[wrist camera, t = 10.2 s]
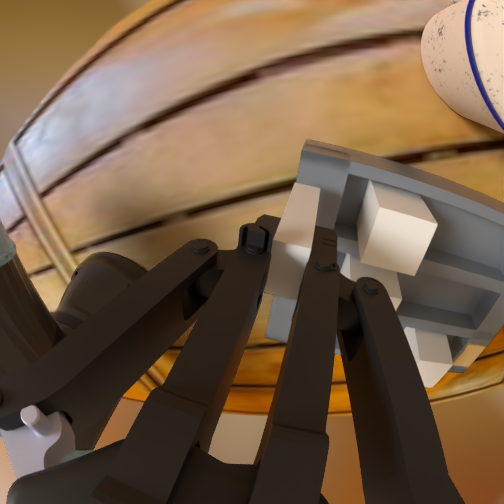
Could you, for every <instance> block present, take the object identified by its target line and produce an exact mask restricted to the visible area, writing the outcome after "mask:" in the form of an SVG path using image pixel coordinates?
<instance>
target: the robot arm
mask: <svg viewBox="0 0 504 504" xmlns="http://www.w3.org/2000/svg"><path fill="white" fill-rule="evenodd" d="M319 195H320V188H317V187H313V186H309V185H304V184H300V183H295V184H294V186H293V189H292V191H291V194H290V197H289V199H288V202H287V205H286V207H285V210H284V213H283V215H282V218H278V217H274V216H269V215H265V214H264V215H262V216H261V217H259V218H258V219H257V220H256V222H255V223H248V224H245V225H243V226H241V227H240V231H239V242H238V247H237V249H235V250H218V246H217V245H216V244H215V243H214V242H212V241H211V240H207V239H195V240H192V241H190V242H188V243H187V244H185V245H184V246H182V247H181V248H180V249H178V250H177V251H176V252H174V253H173V254H171V255H170V256H169V257H167V258H166V259H165V260H163V261H162V262H161V263H159V264H158V265H157V266H155V267H154V268H153V269H151V270H150V271H149V272H146V271H145V270H143V269H142V268H141V267H139V266H138V265H136V264H135V263H133V262H131V261H130V260H128V259H126V258H124V257H121V256H119V255H116V254H112V253H107V252H98V253H94V254H91V255H90V256H88V257H87V258H86V259H85V260H84V261H83V262H82V263H81V264H80V265H79V266H78V267H77V268H76V269H75V271H74V273H73V275H72V278H71V281H70V283H69V285H68V286H67V288H66V290H65V292H64V295H63V297H62V299H61V301H60V304H59V306H58V308H57V309H56V311H55V312H54V313H53V314H52V315H51V313H50V312H49V310H48V308H47V307H46V305H45V304H44V302H43V300H42V299H41V297H40V295H39V294H38V292H37V290H36V288H35V287H34V285H33V283H32V281H31V280H30V278H29V276H28V274H27V272H26V270H25V268H24V267H23V265H22V263H21V261H20V259H19V257H18V255H17V253H16V245H15V243H14V242H13V241H12V240H11V239H10V238H9V236H8V234H7V232H6V230H5V228H4V226H3V224H2V222H1V220H0V436H1V437H2V438H3V440H4V444H5V447H6V450H7V453H8V456H9V459H10V462H11V465H12V467H13V470H14V473H15V475H16V478H17V480H16V481H15V482H14V483H13V484H12V486H11V487H10V489H9V491H8V495H7V502H6V504H329V503H328V501H327V500H326V499H325V497H324V496H323V495H322V494H321V493H320V492H321V487H322V482H323V477H324V472H325V466H326V461H327V455H328V449H329V436H328V435H327V434H326V421H327V415H328V408H329V400H330V392H331V384H332V375H333V365H334V355H335V344H336V334H337V339H338V343H339V348H340V353H341V357H342V362H343V367H344V372H345V377H346V382H347V388H348V393H349V398H350V404H351V410H352V415H353V421H354V427H355V433H356V439H357V446H358V453H359V460H360V468H361V475H362V483H363V491H364V497H365V503H366V504H465V502H464V501H463V499H462V497H461V496H460V494H459V492H458V490H457V489H456V487H455V485H454V484H453V482H452V480H451V478H450V477H449V475H448V470H447V466H446V461H445V457H444V453H443V449H442V445H441V441H440V437H439V433H438V430H437V426H436V423H435V419H434V415H433V412H432V409H431V406H430V402H429V399H428V396H427V393H426V390H425V387H424V384H423V381H422V378H421V375H420V372H419V369H418V367H417V364H416V361H415V358H414V356H413V353H412V350H411V348H410V345H409V342H408V340H407V337H406V335H405V332H404V330H403V327H402V325H401V322H400V320H399V318H398V315H397V313H396V310H395V308H394V306H393V303H392V301H391V299H390V297H389V294H388V292H387V290H386V288H385V287H384V285H383V284H382V283H381V282H379V281H378V280H376V279H374V278H371V277H361V278H359V279H357V281H356V282H355V281H352V280H350V279H348V278H347V277H345V276H344V275H342V274H341V273H340V269H339V265H338V264H337V234H336V233H335V231H334V230H333V229H329V228H325V227H321V226H316V225H315V223H316V216H317V209H318V202H319ZM264 288H265V289H264ZM263 291H264V293H268V294H272V295H276V296H280V297H284V298H289V299H293V300H297V302H296V306H295V309H294V313H293V316H292V319H291V321H292V323H291V327H290V332H289V336H288V340H287V344H286V349H285V353H284V357H283V361H282V365H281V369H280V373H279V377H278V381H277V385H276V388H275V392H274V396H273V400H272V403H271V407H270V411H269V414H268V418H267V422H266V425H265V429H264V432H263V436H262V439H261V443H260V446H259V449H258V452H257V455H256V458H255V461H254V464H253V465H250V464H248V465H247V464H227V463H223V462H221V461H219V460H218V459H216V458H214V457H213V456H211V455H209V454H208V451H209V448H210V444H211V440H212V437H213V434H214V431H215V429H216V426H217V423H218V420H219V417H220V415H221V413H222V410H223V407H224V405H225V402H226V399H227V396H228V394H229V391H230V388H231V386H232V383H233V380H234V377H235V375H236V372H237V369H238V366H239V364H240V361H241V358H242V355H243V352H244V350H245V347H246V344H247V341H248V338H249V335H250V333H251V330H252V327H253V324H254V321H255V318H256V315H257V313H258V310H259V307H260V304H261V301H262V296H263ZM197 319H198V320H197ZM196 320H197V322H196V324H195V326H194V327H193V329H192V331H191V333H190V335H189V337H188V339H187V341H186V342H185V344H184V346H183V348H182V350H181V352H180V354H179V356H178V357H177V359H176V361H175V363H174V365H173V367H172V369H171V371H170V373H169V374H168V376H167V378H166V380H165V382H164V384H163V385H162V386H161V387H159V388H155V389H154V390H152V391H151V393H150V394H149V396H148V397H147V399H146V401H145V403H144V404H143V406H142V409H141V410H140V412H139V414H138V416H137V418H136V419H135V421H134V423H133V425H132V427H131V429H130V431H129V433H128V434H127V436H126V439H123V440H120V441H117V442H114V443H112V444H110V445H108V446H105V447H103V448H100V449H98V450H95V451H93V450H94V448H95V445H96V443H97V441H98V440H99V438H100V436H101V434H102V432H103V430H104V428H105V427H106V425H107V423H108V421H109V419H110V417H111V416H112V414H113V412H114V410H115V408H116V407H117V405H118V403H119V401H120V400H121V398H122V396H123V395H124V394H125V393H126V392H127V391H128V390H129V389H130V388H131V387H132V385H133V384H134V383H135V382H136V381H137V380H138V379H139V378H140V377H141V376H142V375H143V374H144V373H145V372H146V371H147V370H148V369H149V368H150V367H151V366H152V365H153V364H154V363H155V362H156V361H157V360H158V359H159V358H160V357H161V356H162V355H163V354H164V353H165V352H166V351H167V350H168V349H169V348H170V347H171V346H172V345H173V343H174V342H175V341H176V340H177V339H178V338H179V337H180V336H181V335H182V334H183V333H184V332H185V331H186V330H187V329H188V328H189V327H190V326H191V325H192V324H193V323H194V322H195V321H196Z"/></svg>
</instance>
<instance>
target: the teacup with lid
mask: <svg viewBox="0 0 504 504" xmlns="http://www.w3.org/2000/svg"><path fill="white" fill-rule="evenodd" d="M450 1H451V2H452V5H451V6H449V7H448V8H446V9H444V10H442V11H440V12H439V13H437V14H435V15H434V16H433V17H432V18H431V19H430V20H429V22H428V23H427V25H426V27H425V29H424V31H423V35H422V40H421V56H422V62H423V66H424V69H425V72H426V75H427V77H428V79H429V81H430V83H431V85H432V87H433V88H434V90H435V91H436V93H437V94H438V96H439V97H440V98H441V99H442V100H443V101H444V103H445V104H446V105H448V106H449V107H450V108H451V109H452V110H453V111H455V112H456V113H458V114H459V115H461V116H463V117H465V118H467V119H470V120H472V121H475V122H477V123H480V124H482V125H485V126H487V127H489V128H492V129H494V130H496V131H499V132H501V133H503V134H504V0H450Z"/></svg>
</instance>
